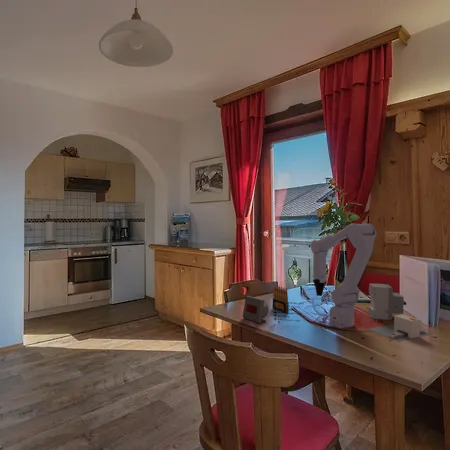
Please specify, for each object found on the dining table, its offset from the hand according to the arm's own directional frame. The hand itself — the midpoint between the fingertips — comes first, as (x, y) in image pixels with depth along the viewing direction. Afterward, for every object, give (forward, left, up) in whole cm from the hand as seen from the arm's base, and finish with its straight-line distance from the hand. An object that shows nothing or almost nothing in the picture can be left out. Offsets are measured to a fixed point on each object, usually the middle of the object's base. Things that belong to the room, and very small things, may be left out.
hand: (319, 295), depth 153 cm
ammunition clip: (-12, +14, -10) cm, 21 cm away
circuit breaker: (+25, -16, -10) cm, 31 cm away
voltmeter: (-25, +1, -10) cm, 27 cm away
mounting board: (+13, -32, -9) cm, 35 cm away
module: (+13, -35, -9) cm, 38 cm away
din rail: (+13, -35, -9) cm, 38 cm away
